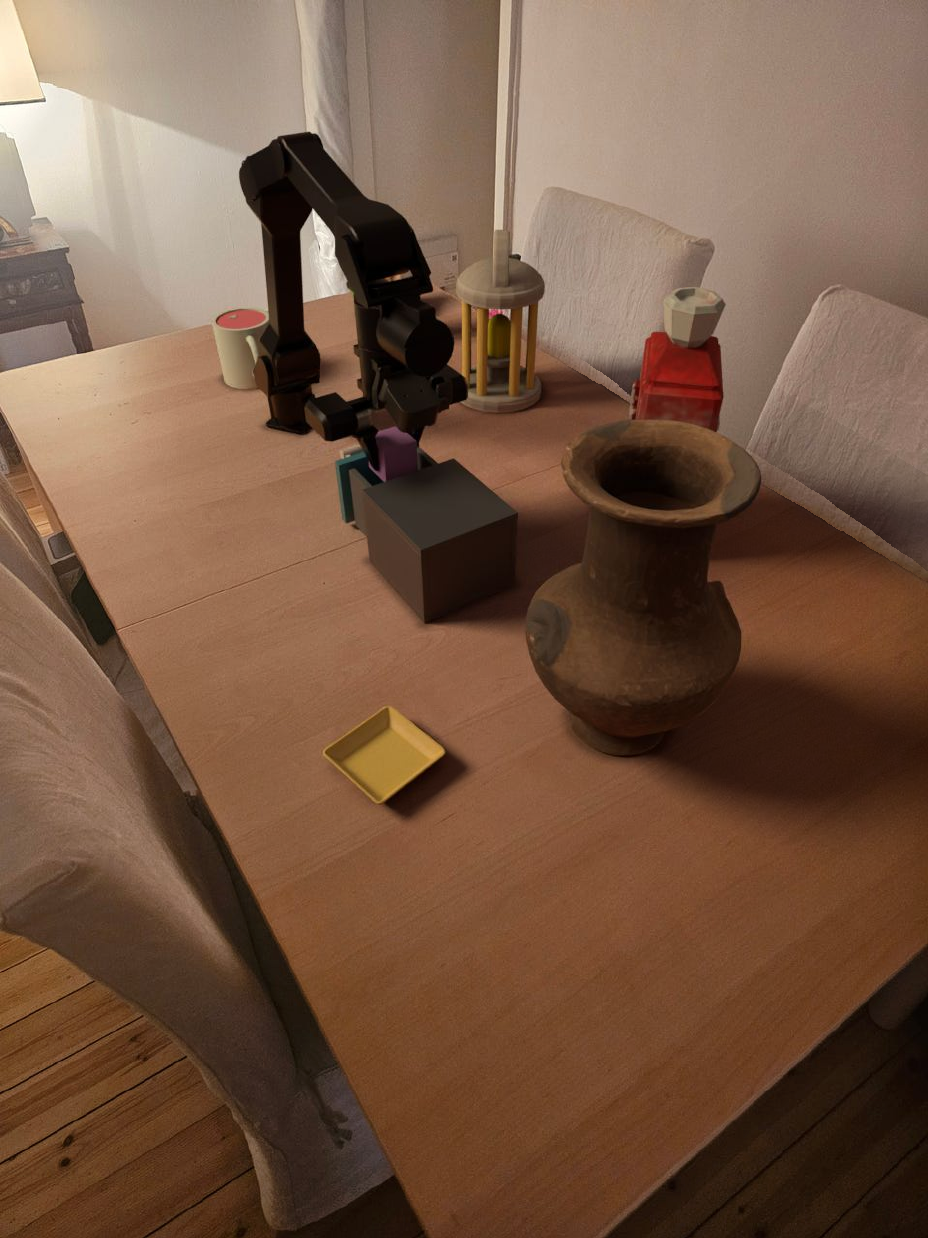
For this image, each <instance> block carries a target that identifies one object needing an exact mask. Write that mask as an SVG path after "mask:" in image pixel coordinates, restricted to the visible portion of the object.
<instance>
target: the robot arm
mask: <svg viewBox="0 0 928 1238" xmlns="http://www.w3.org/2000/svg"><path fill="white" fill-rule="evenodd" d="M238 180H239V185H240V188H241V192H242V194H243V196H244V199H245V203H246V204H247V206H248V207H249V209H250V210H251V212H252V213H253V214H254V215H255V217H256V218H257V220H258V221H259V222H260V227H261V238H262V251H263V262H264V275H265V288H266V301H267V312H268V313H269V325H268V326H267V328H266V330H265V331H264V333H263V335H262V336H261V338H260V340H259V356H260V357H258V359H257V361H256V364H255V367H254V369H253V375H254V378H255V382H256V385H257V386H258V387H259V388H258V389H259V390H260V391H261V392H262V393H263V394H264V395H265V396H266V398H267V403H268V409H269V413H270V419H268V420H267V421H266V422H265V426H266V427H267V428H272V429H276V430H280V431H285V432H290V433H294V434H298V435H300V434H304V433H305V432H306V431H307V430H308V429H309V428H310V427H311V428H312V429H313V430H314V431H315V432H316V433H317V435H319V436H320V437H321V438H322V439H323V440H324V442H331V443H332V442H336V441H339V440H342V439H346V438H349V437H352V438H354V439H356V441H357V443H358V444H360V446H361V448H362V450H363V451H364V453H365V455H366V457H367V459H368V461H369V462H370V464H371V466H372V468H373V469H374V470H375V471H378V470H379V458H378V451H377V444H376V435H377V433H378V432H379V431H380V430H379V429H378V428H377V427H376V426H375V425H374V424H373V423H372V414H374V413H378V412H380V411H386V412H387V414H388V415H389V417H390V418H391V420H392V422H393V423H394V424H395V426H396V427H397V428H398V430H399V431H401V432H403V433H408V434H409V435H410V436H411V437H413V438H414V439H415V440H416V441H417V447H418V444H419V445H420V443H421V439H422V436H423V434H424V431H425V428H426V427H432V426H434V425H435V424H436V423H437V420H438V416H439V415H438V414H441V413H442V412H444V411H446V410H450V406H452V405H455V404H459V403H461V401H464V400H467V398H468V383H467V381H466V378H465V377H464V376H463V375H461V373H460V372H458V371H457V370H456V369H455V368H453V367H452V366H451V365H449V364H448V363H450V360H451V359H452V356H453V353H454V350H455V337H454V335H453V332H452V330H451V329H450V327H449V325H447V324H446V323H445V322H444V321H443V320H441V319H439V318H438V317H437V309H436V307H435V306H434V305H432V304H431V303H430V302H425V301H423V300H422V295H425V294H430V293H433V292H434V287H433V283H432V281H431V277H430V276H431V274H432V271H431V269H430V266H429V263H428V262H427V259H426V257H425V255H424V252H423V251H422V248H421V246H420V243H419V240H418V239H417V235H416V232H415V230H414V228H413V227H412V226H411V225H410V223H409V222H408V220H407V219H406V217H404V216H403V215H402V214H401V213H400V212H399V211H397V210H395V209H394V208H393V207H392V206H391V205H390V204H387V203H384V202H380V201H377V200H373V199H370V198H368V197H367V196H366V195H364V194H363V192H362V191H361V190H360V189H359V188H358V186H357V185H355V183H354V182H353V181H352V180H351V179H350V177H349V176H348V175H347V174H346V173H345V171H344V170H343V169H342V168H341V167H340V166H339V165H338V164H337V162H336V161H335V160H334V159H333V158H332V157H331V156H330V154H329V153H328V152H327V150H325V148H324V144H323V141H322V139H321V137H320V136H319V134H317V133H316V132H313V133H312V132H311V131H303V132H297V133H290V134H282V135H278V136H277V137H276V138H274V139H272V140H271V141H270V143H269V144H268V145H267V146H266V147H264V148H262V149H260V150H258V151H256V152H255V153H253V154H251V155H247V156H246V157H245V159H244V160H242V161H241V166H240V167H239V170H238ZM313 211H314V212H315V213H316V215H317V216H318V217H319V218H320V219H321V221H322V223H324V224H325V226H326V227H327V228H328V229H329V231H330V232H331V234H332V235H333V237H334V257H335V258H336V260H337V263H338V265H339V267H340V270H341V271H342V273H343V275H344V277H345V279H346V284H345V285H346V288H347V289H348V290H349V291H350V290H351V291H352V292H353V293H354V296H353V295H352V298H353V307H354V318H355V319H354V320H355V329H356V338H357V339H356V340H357V343H356V344H353V345H352V346H353V347H352V348H353V354H354V355H355V356H356V357H357V358H358V359H359V369H360V378H357V379H356V387H357V388H358V390H359V391H361V392H362V396H361V397H357V398H354V399H350V400H348V401H346V399H344V398H343V397H342V396H341V395H340V394H338V392H337V391H334V392H331V393H327V394H324V395H320V396H317V397H316V394H315V393H313V386H312V385H317V384H320V380H321V361H322V359H321V353H320V350H319V348H318V346H317V344H316V343H315V341H314V340H313V339H312V338H311V336H310V335H309V334H308V333H307V332H306V329H305V311H304V290H303V289H304V287H303V286H304V285H303V265H302V241H301V240H302V239H301V231H302V229H303V227H304V226H305V224H306V222H307V220H308V219H309V217H310V215H311V214H312V212H313ZM409 272H410V274H411V276H408V277H402V279H399V280H394V281H388V280H387V279H385V278H388V277H392V276H397V275H404V274H408V273H409Z"/></svg>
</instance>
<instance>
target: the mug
mask: <svg viewBox="0 0 928 1238" xmlns="http://www.w3.org/2000/svg"><path fill="white" fill-rule="evenodd" d="M211 325H212V330H213V334H214V340H215V343H216V349H217V352H218V357H219V361H220V362H219V363H220V367H221V371H222V375H223V381H224V383H225V384H226V385H227V386H228V387H231V388H234V389H239V390H256V389H260V388H259V387H258V386H257V385H256V382H255V378H254V375H253V369H254V367H255V364H256V361H257V359H258V357H260V356H259V340H260V338H261V336H262V335H263V333H264V331H265V330H266V328H267V326H268V325H269V313H268V310H265V309H263V308H258V307H247V306H244V307H235V308H230V309H226V310H222V311H220V312H218V313H217V314H215V315H214V316H213V317H212V319H211Z"/></svg>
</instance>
